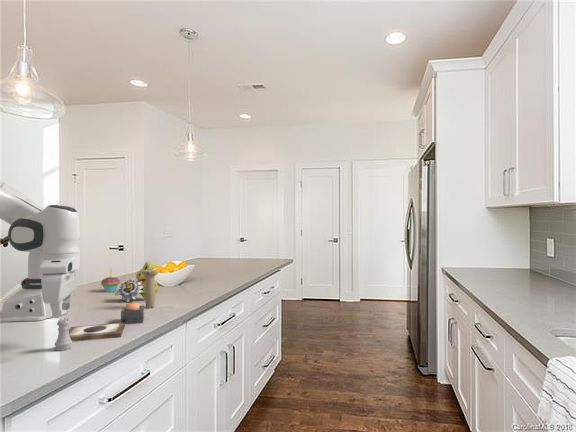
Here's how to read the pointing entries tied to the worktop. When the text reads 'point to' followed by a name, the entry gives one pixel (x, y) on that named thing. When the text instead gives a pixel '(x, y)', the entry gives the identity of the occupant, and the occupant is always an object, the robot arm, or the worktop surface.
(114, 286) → the cupcake
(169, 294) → the worktop surface
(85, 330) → the board
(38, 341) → the worktop surface
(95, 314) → the worktop surface
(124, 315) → the button housing
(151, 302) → the handle
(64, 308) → the robot arm
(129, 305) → the button
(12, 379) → the worktop surface
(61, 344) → the rook chess piece
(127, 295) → the passion flower
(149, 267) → the yellow green figurine
